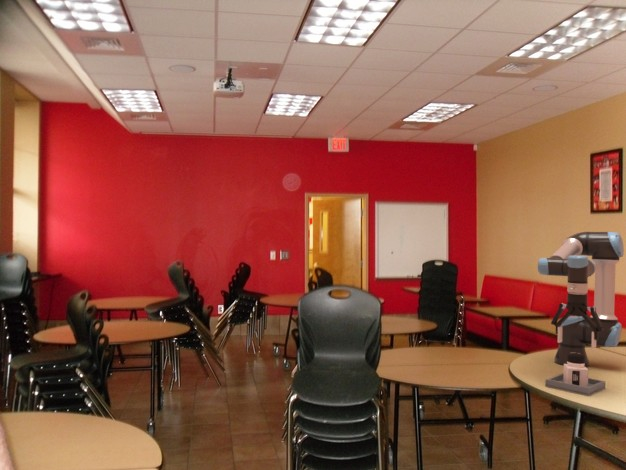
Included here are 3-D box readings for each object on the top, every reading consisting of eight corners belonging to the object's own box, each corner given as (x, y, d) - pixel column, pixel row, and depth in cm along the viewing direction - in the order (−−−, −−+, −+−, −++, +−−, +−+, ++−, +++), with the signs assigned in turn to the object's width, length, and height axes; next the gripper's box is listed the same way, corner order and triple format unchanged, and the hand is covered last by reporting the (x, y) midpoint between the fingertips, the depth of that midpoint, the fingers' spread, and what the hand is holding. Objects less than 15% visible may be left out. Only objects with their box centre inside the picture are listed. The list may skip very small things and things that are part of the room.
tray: (563, 379, 238) (563, 373, 238) (605, 388, 226) (605, 381, 226) (545, 386, 227) (545, 379, 227) (588, 396, 214) (588, 388, 214)
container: (588, 388, 222) (588, 356, 222) (567, 386, 223) (568, 354, 223) (582, 383, 229) (583, 352, 229) (563, 382, 231) (563, 350, 231)
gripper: (543, 291, 233) (542, 341, 233) (606, 297, 214) (605, 351, 215) (551, 289, 238) (550, 338, 238) (613, 295, 219) (612, 348, 220)
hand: (576, 345), depth 226 cm, fingers open, 13 cm apart
